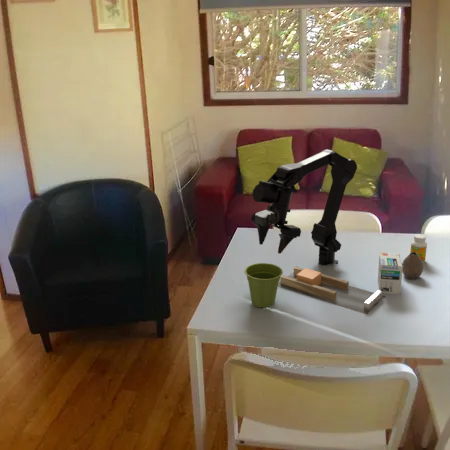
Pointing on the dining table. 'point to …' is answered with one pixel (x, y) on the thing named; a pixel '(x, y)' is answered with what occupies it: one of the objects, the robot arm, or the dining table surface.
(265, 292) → the plant pot
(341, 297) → the chute
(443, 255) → the dining table surface
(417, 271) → the vase
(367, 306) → the stop bar
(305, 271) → the orange block
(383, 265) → the light bulb box
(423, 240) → the supplement bottle
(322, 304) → the dining table surface
